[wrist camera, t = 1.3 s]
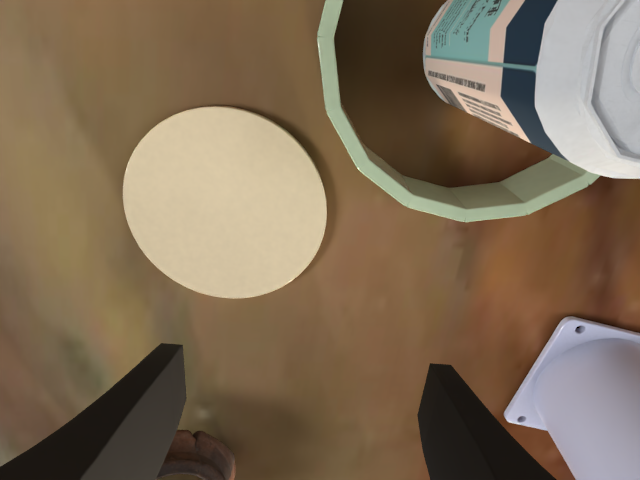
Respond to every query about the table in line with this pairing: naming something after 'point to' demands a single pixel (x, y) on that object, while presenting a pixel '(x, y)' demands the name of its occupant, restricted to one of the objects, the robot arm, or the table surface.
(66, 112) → the table surface
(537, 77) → the beer can
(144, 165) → the coaster
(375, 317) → the table surface
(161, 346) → the robot arm
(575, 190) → the ring
